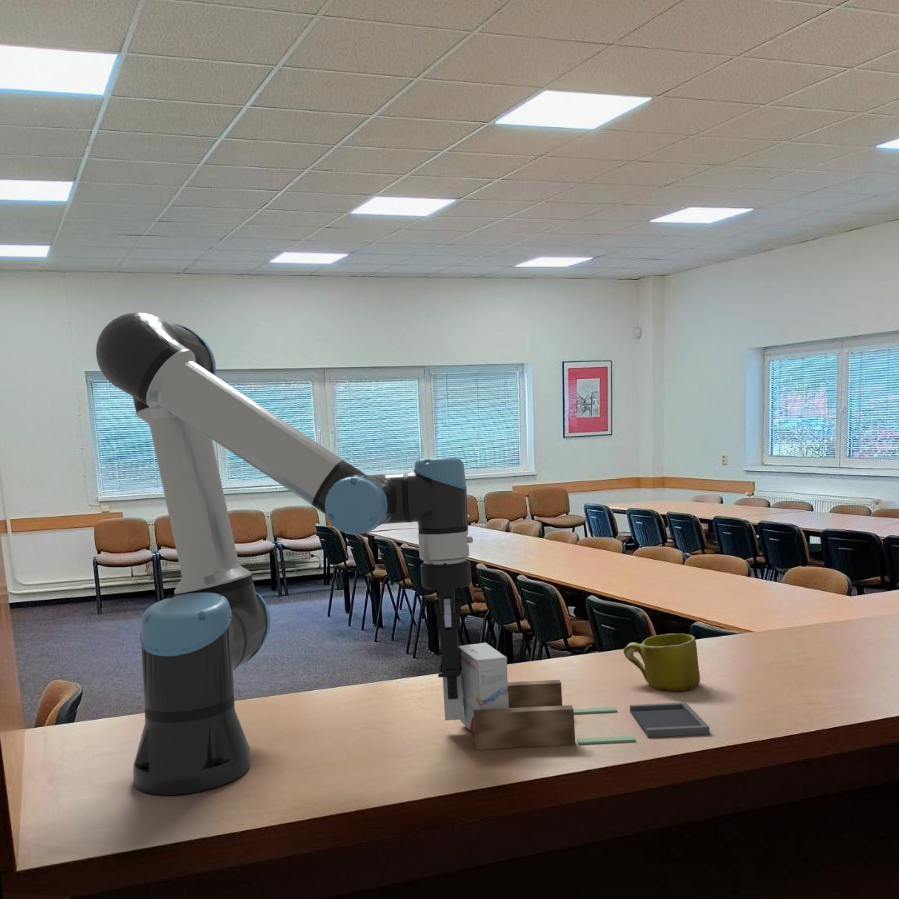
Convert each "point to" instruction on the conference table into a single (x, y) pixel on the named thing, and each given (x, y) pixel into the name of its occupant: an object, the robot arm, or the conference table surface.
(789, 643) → the conference table surface
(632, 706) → the grey flat tray
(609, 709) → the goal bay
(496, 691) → the ink box
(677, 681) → the mug
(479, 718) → the tunnel walls
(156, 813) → the conference table surface
